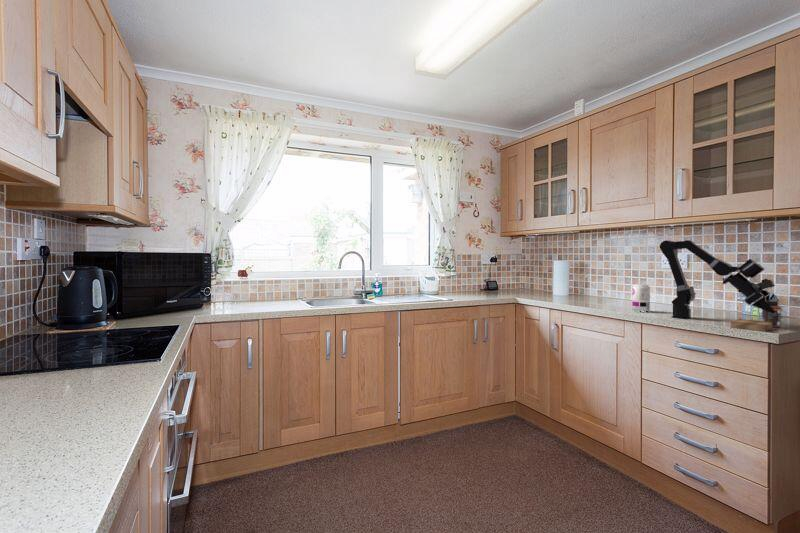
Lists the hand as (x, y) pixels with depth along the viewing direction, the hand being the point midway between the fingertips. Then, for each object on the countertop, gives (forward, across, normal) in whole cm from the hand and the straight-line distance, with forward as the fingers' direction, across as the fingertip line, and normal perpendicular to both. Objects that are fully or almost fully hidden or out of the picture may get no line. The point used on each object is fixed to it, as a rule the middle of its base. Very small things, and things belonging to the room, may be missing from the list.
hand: (775, 312), depth 171 cm
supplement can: (-35, +9, +44) cm, 57 cm away
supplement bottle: (+4, 0, +6) cm, 7 cm away
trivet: (0, -11, +9) cm, 14 cm away
